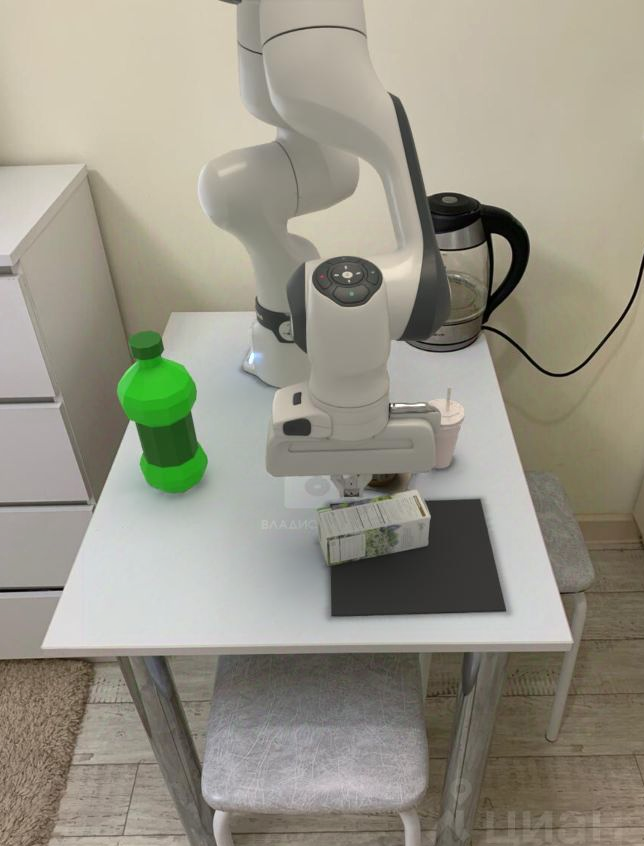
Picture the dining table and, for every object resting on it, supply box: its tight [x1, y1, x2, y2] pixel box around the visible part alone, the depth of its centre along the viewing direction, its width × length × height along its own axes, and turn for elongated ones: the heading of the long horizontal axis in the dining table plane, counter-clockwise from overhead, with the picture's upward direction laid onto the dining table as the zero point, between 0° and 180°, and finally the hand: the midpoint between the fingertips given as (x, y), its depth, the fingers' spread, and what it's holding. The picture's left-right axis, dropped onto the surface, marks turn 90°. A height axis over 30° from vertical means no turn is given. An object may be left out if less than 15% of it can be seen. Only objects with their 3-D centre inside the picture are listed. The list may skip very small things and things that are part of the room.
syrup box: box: [316, 489, 431, 567], centre depth 98 cm, size 6×6×14 cm
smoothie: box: [426, 385, 466, 470], centre depth 108 cm, size 6×6×14 cm
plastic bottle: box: [116, 330, 209, 495], centre depth 102 cm, size 10×10×25 cm
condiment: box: [350, 473, 413, 494], centre depth 106 cm, size 7×8×12 cm
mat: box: [329, 498, 507, 618], centre depth 98 cm, size 20×22×1 cm
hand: (351, 494), depth 91 cm, fingers closed
